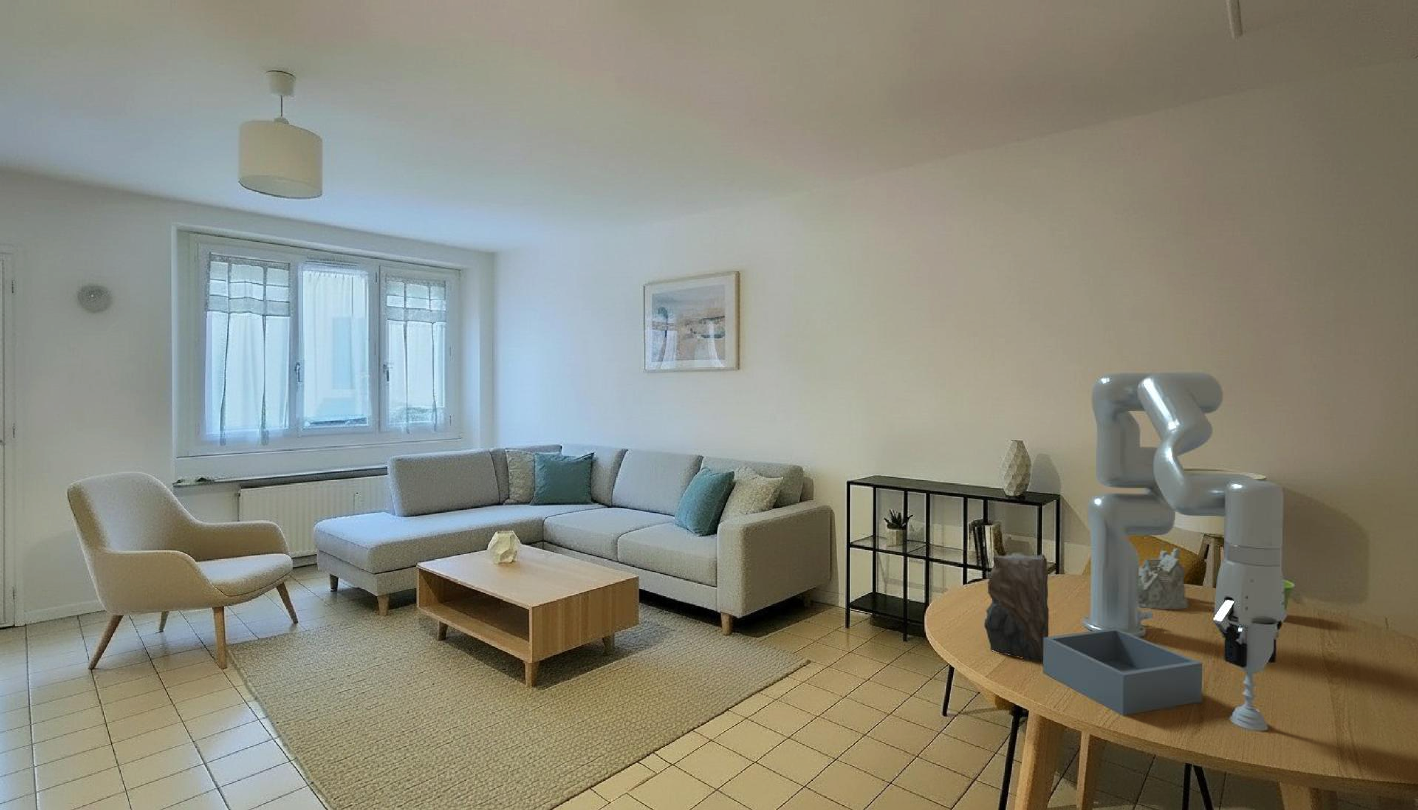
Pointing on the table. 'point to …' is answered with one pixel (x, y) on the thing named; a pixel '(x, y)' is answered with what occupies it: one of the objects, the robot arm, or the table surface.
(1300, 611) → the table surface
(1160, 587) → the ceramic cottage
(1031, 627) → the grey faceted rock
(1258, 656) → the chalice
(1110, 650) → the bin
